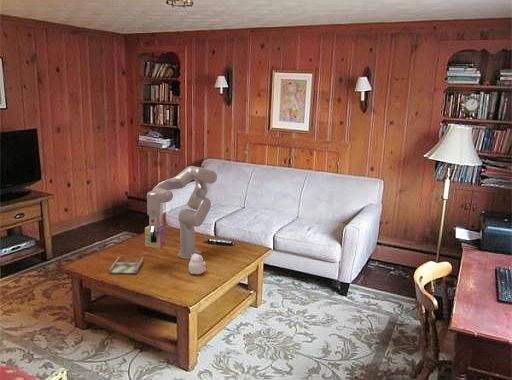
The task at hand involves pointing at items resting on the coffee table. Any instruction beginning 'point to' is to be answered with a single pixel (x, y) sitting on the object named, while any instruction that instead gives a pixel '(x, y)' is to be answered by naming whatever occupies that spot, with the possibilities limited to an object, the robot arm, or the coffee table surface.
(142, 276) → the coffee table surface
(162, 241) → the box
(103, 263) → the coffee table surface
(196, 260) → the figurine
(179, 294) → the coffee table surface
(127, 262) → the rack
